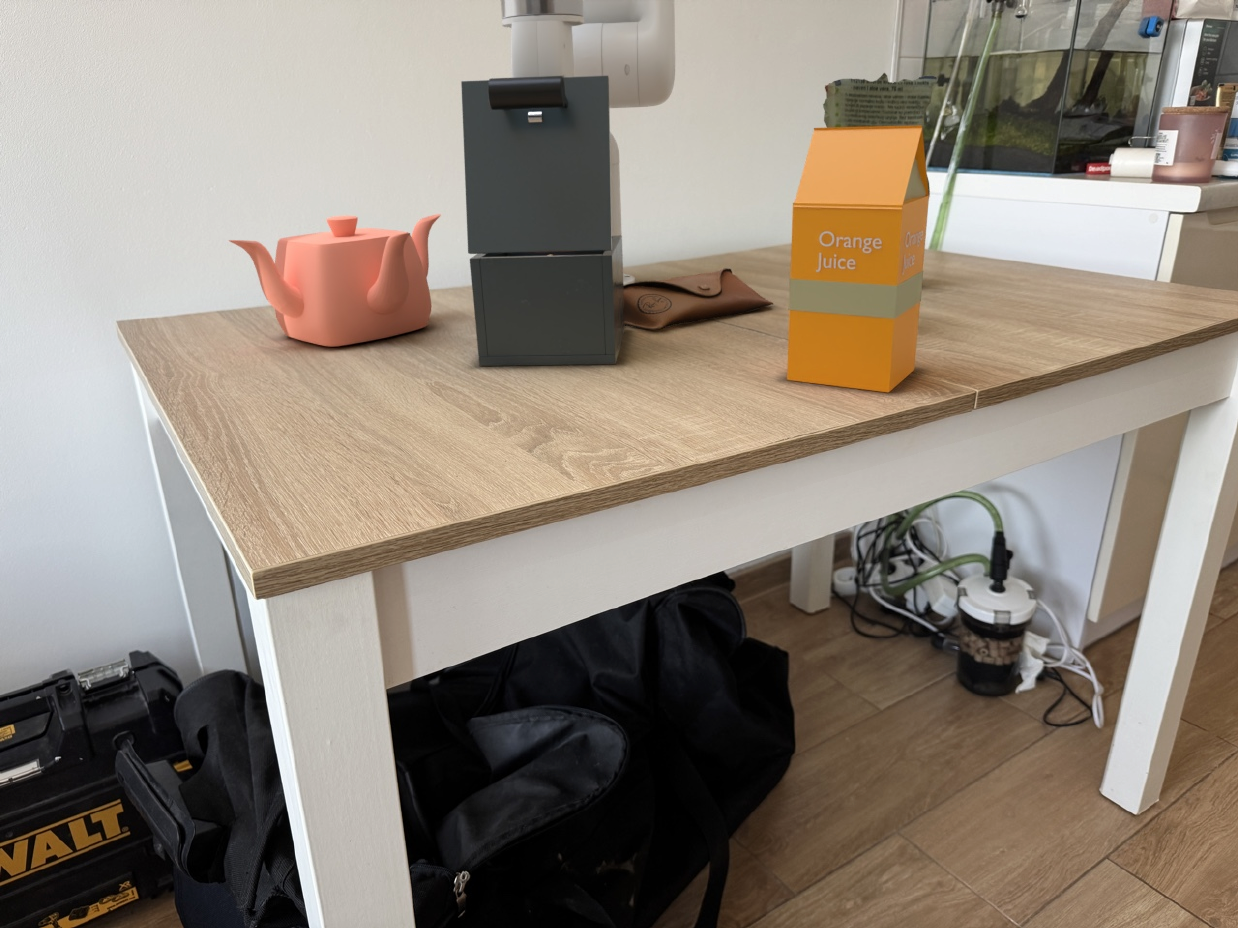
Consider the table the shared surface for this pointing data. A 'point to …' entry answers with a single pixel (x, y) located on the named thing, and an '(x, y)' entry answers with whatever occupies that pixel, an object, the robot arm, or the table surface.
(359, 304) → the pot
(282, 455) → the table surface
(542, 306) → the dark box
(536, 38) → the robot arm
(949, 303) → the table surface
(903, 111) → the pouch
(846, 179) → the orange juice
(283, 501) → the table surface
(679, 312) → the sunglasses case
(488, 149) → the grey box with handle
